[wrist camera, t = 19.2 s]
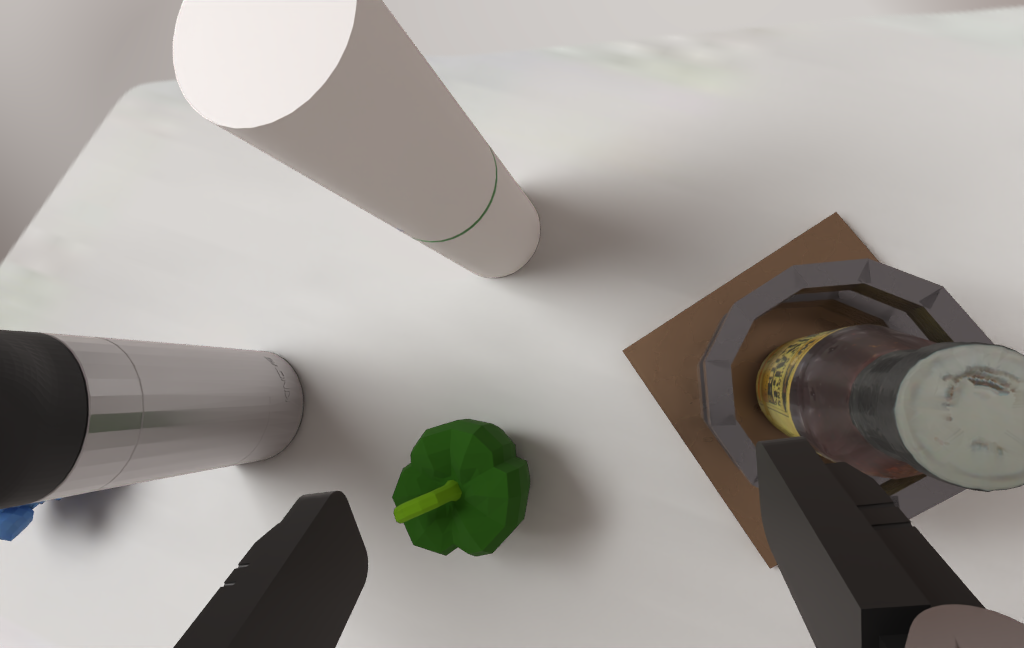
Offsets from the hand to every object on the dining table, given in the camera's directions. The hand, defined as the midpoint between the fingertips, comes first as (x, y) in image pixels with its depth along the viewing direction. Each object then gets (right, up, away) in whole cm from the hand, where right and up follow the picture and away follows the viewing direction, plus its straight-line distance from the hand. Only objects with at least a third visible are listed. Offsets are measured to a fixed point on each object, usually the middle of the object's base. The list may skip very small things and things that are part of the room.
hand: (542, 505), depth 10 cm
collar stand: (+18, -1, +24) cm, 30 cm away
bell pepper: (-2, -7, +29) cm, 30 cm away
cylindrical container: (-2, +11, +31) cm, 33 cm away
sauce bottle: (+18, -1, +23) cm, 29 cm away
